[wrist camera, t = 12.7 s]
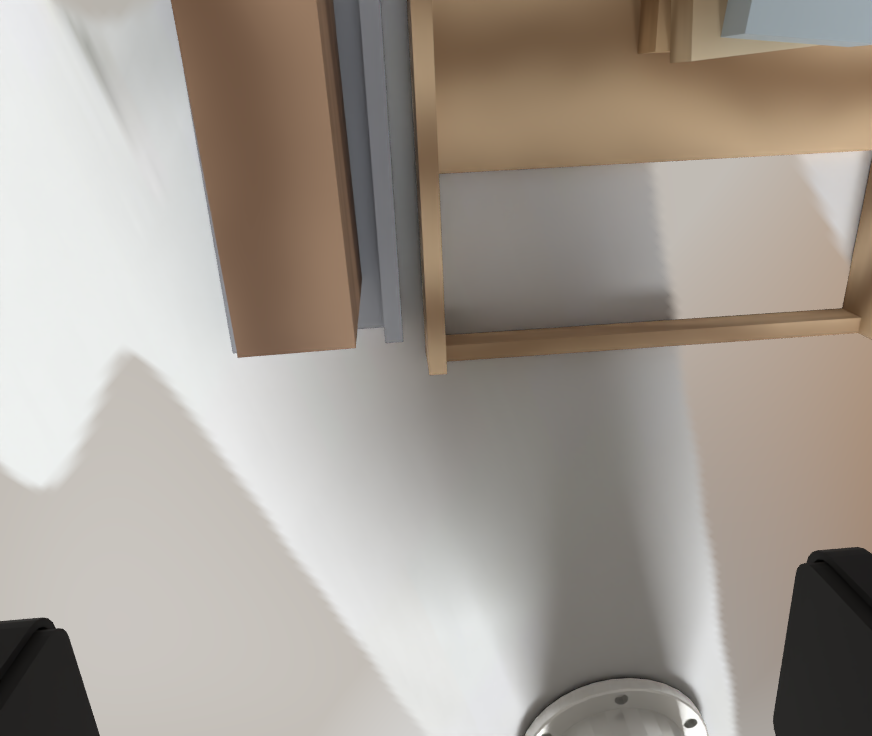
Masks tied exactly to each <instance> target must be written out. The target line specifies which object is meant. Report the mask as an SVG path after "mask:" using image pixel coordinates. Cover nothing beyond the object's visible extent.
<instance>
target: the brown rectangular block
mask: <svg viewBox="0 0 872 736" xmlns="http://www.w3.org/2000/svg"><path fill="white" fill-rule="evenodd" d="M171 4H172V9H173V14H174V20H175V25H176V30H177V36H178V41H179V46H180V52H181V57H182V62H183V68H184V73H185V78H186V84H187V89H188V94H189V100H190V105H191V110H192V116H193V121H194V126H195V132H196V137H197V142H198V148H199V153H200V158H201V164H202V169H203V174H204V180H205V185H206V190H207V196H208V201H209V206H210V212H211V217H212V222H213V228H214V233H215V238H216V244H217V249H218V254H219V260H220V265H221V270H222V276H223V281H224V286H225V292H226V297H227V302H228V308H229V313H230V318H231V324H232V329H233V334H234V340H235V345H236V350H237V356H238V358H240V357H252V356H264V355H276V354H288V353H301V352H313V351H325V350H337V349H349V348H356V339H357V328H358V318H359V308H360V297H361V287H362V272H361V263H360V253H359V243H358V234H357V224H356V215H355V205H354V196H353V186H352V176H351V167H350V157H349V148H348V138H347V129H346V119H345V109H344V100H343V90H342V81H341V71H340V62H339V52H338V43H337V33H336V23H335V14H334V4H333V0H171Z"/></svg>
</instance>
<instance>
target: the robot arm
mask: <svg viewBox="0 0 872 736" xmlns="http://www.w3.org/2000/svg"><path fill="white" fill-rule="evenodd" d="M773 724H774V730H775V734H776V736H872V554H871V553H870V552H868V551H867V550H865V549H864V548H859V547H854V548H853V547H852V548H841V549H830V550H818V551H814V552H812V553H811V554H810V556H809V557H808V560H807V563H804V564H801V565H800V566H799V567H798V568H797V572H796V576H795V583H794V589H793V596H792V602H791V608H790V614H789V621H788V627H787V633H786V640H785V646H784V653H783V659H782V666H781V671H780V678H779V684H778V691H777V697H776V703H775V710H774V716H773ZM0 736H100V735H99V732H98V728H97V725H96V722H95V719H94V716H93V713H92V709H91V706H90V703H89V700H88V697H87V694H86V690H85V687H84V684H83V681H82V677H81V674H80V671H79V668H78V665H77V661H76V659H75V655H74V652H73V649H72V646H71V642H70V639H69V636H68V634H67V632H66V631H65V630H64V629H59V628H58V629H56V628H55V626H54V624H53V622H52V621H50V620H49V619H48V618H33V619H22V620H10V621H0ZM525 736H708V732H707V728H706V725H705V723H704V721H703V719H702V717H701V715H700V713H699V711H698V709H697V708H696V706H695V705H694V704H693V702H692V701H691V700H690V699H689V698H688V697H687V696H685V695H684V694H683V693H682V692H680V691H679V690H677V689H675V688H673V687H671V686H669V685H666V684H664V683H660V682H656V681H652V680H648V679H636V678H622V679H610V680H605V681H600V682H595V683H592V684H589V685H586V686H584V687H581V688H578V689H576V690H574V691H572V692H570V693H568V694H566V695H564V696H562V697H560V698H559V699H558V700H556V701H555V702H553V703H552V704H551V705H549V706H548V707H547V708H546V709H545V710H544V711H543V712H542V713H541V714H540V715H539V716H538V717H537V718H536V719H535V720H534V721H533V723H532V724H531V726H530V727H529V729H528V730H527V732H526V734H525Z"/></svg>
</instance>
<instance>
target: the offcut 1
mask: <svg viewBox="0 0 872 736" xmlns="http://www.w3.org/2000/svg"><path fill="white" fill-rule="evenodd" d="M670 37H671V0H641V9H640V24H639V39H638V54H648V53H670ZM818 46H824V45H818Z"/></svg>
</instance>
